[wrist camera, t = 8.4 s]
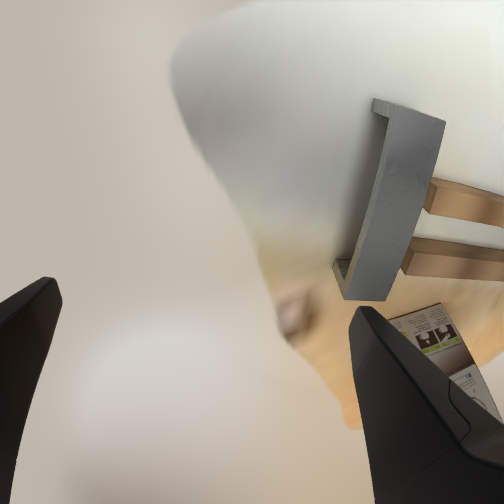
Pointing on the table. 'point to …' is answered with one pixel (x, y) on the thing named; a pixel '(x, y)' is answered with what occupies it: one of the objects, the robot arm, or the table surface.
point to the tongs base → (452, 260)
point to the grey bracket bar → (392, 202)
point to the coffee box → (446, 351)
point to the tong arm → (464, 203)
